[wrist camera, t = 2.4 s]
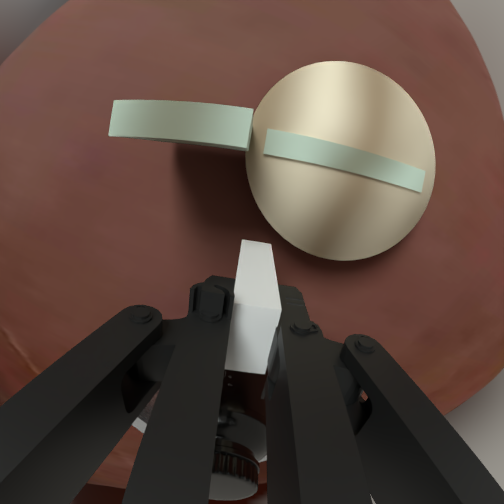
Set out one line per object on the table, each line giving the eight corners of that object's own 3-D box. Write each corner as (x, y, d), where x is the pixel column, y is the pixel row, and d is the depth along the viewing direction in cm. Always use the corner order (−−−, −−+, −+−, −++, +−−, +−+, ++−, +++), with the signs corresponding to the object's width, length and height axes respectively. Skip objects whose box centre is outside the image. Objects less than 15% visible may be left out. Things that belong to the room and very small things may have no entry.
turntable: (154, 225, 17) (102, 267, 11) (182, 42, 13) (146, -12, 7) (401, 265, 18) (456, 314, 11) (434, 102, 14) (503, 92, 8)
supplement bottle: (229, 307, 21) (211, 450, 9) (286, 359, 22) (305, 488, 11) (170, 352, 22) (129, 474, 11) (227, 395, 24) (218, 510, 12)
